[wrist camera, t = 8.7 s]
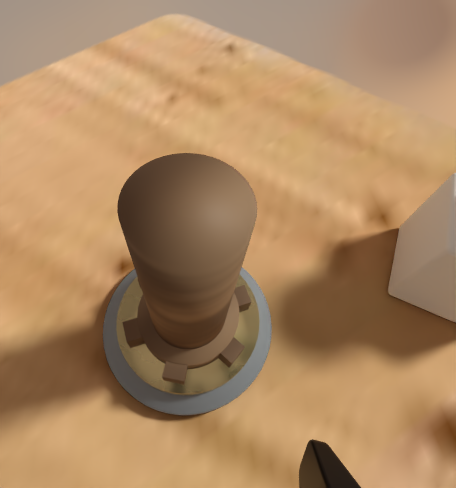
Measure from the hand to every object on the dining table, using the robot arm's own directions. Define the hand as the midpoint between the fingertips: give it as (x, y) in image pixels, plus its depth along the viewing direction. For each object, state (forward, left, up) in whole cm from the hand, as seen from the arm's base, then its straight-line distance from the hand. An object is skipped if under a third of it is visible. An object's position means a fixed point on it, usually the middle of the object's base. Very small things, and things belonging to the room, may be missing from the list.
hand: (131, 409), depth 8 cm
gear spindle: (+3, -5, -11) cm, 13 cm away
